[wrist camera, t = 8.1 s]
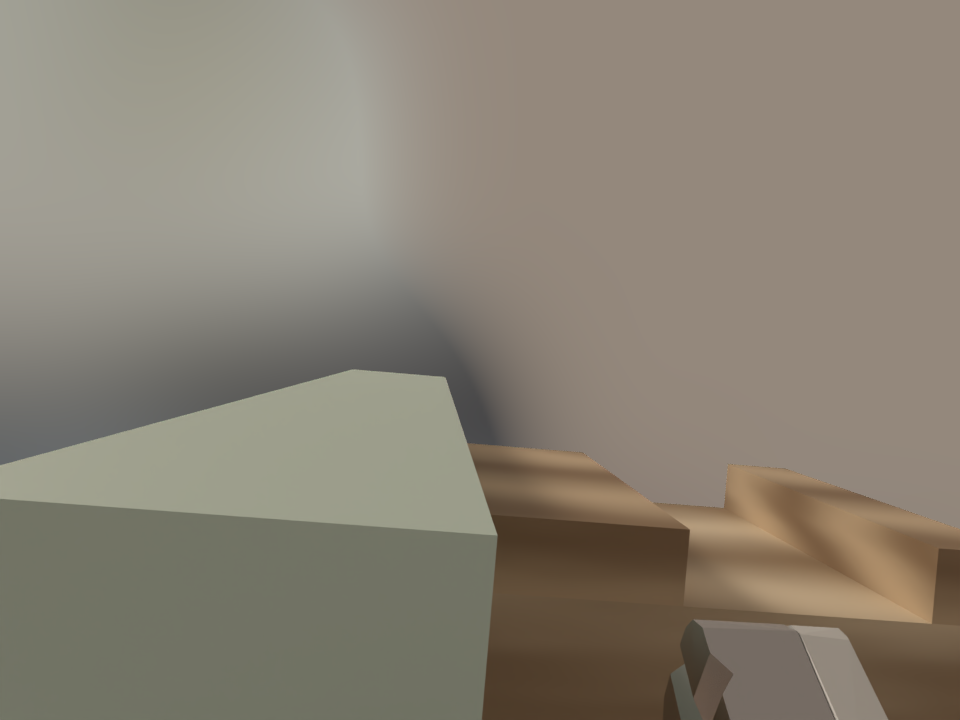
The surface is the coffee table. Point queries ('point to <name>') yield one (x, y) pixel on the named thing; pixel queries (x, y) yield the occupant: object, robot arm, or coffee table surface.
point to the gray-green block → (253, 563)
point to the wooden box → (702, 585)
